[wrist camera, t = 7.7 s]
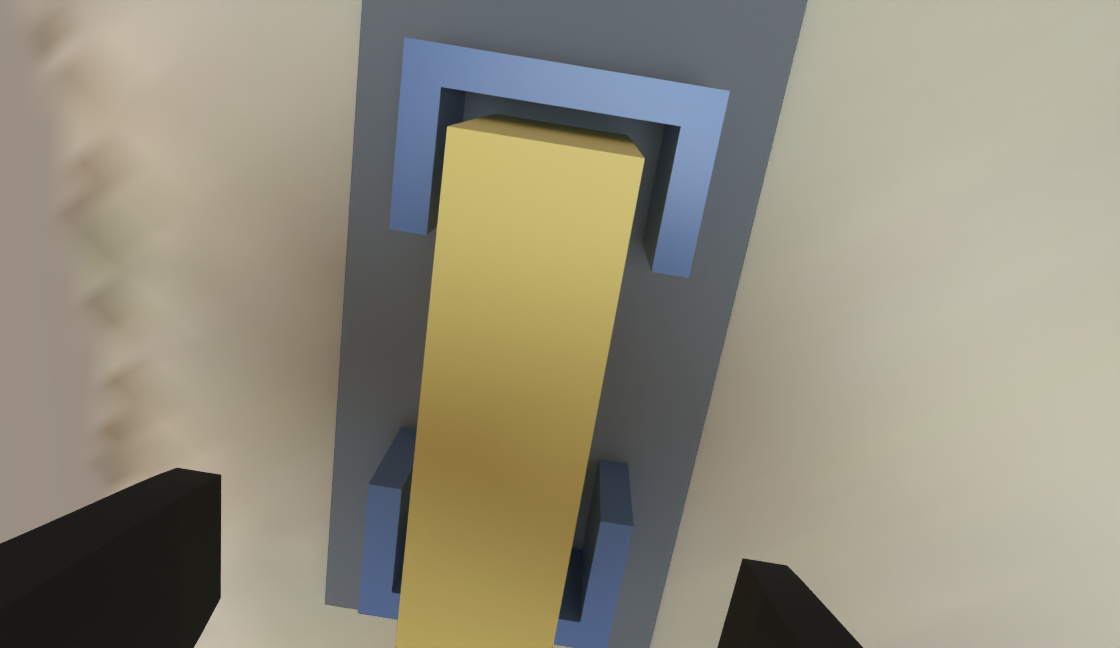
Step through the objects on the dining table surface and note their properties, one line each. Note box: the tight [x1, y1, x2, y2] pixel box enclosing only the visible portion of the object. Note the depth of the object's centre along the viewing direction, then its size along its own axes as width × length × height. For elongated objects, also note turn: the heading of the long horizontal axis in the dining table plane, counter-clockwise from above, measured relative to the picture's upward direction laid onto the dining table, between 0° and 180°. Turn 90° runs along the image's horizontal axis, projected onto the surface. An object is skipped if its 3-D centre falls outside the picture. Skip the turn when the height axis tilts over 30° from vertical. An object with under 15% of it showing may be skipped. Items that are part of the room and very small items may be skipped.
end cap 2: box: [358, 427, 634, 648], centre depth 19 cm, size 4×6×3 cm, turn 81°
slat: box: [395, 114, 645, 648], centre depth 16 cm, size 11×3×6 cm, turn 171°
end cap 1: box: [389, 37, 730, 278], centre depth 16 cm, size 4×6×3 cm, turn 81°
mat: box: [325, 0, 807, 648], centre depth 19 cm, size 19×10×1 cm, turn 171°
